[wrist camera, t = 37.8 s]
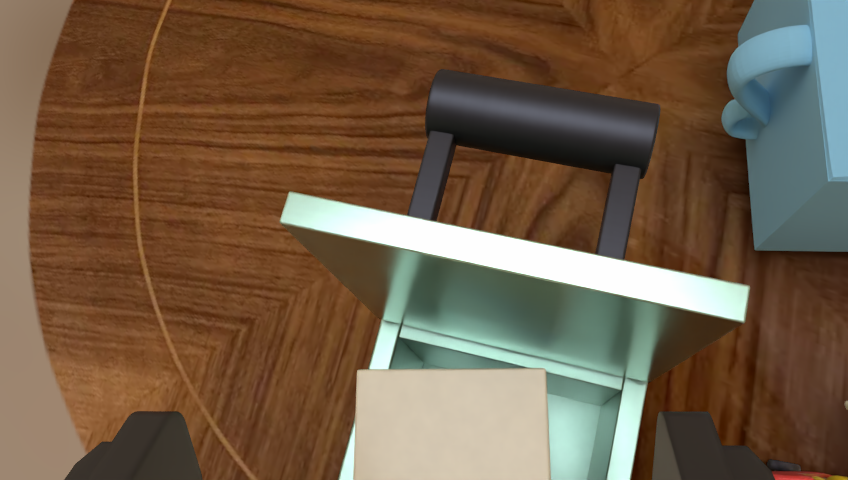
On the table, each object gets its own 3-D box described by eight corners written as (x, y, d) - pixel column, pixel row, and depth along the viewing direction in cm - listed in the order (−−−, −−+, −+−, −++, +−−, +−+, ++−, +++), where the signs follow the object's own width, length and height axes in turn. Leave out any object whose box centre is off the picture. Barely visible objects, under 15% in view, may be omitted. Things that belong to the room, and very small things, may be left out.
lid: (746, 323, 15) (780, 80, 17) (278, 222, 18) (345, 14, 19) (649, 382, 27) (674, 237, 29) (378, 318, 30) (414, 186, 31)
